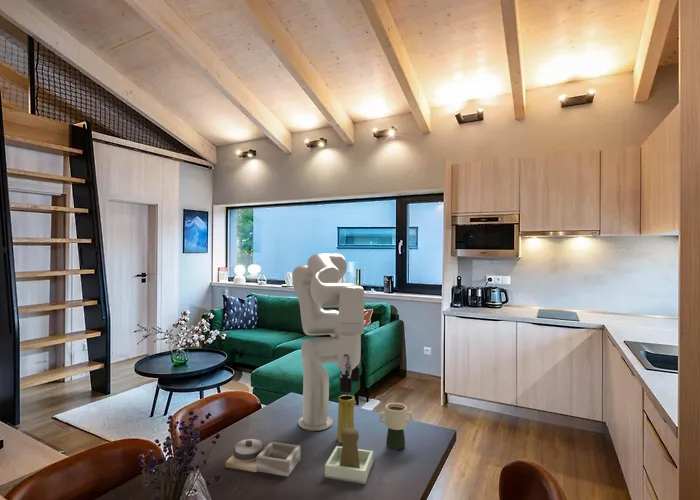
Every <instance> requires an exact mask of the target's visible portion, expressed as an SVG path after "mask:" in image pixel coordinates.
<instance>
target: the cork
mask: <svg viewBox="0 0 700 500" xmlns="http://www.w3.org/2000/svg"><path fill="white" fill-rule="evenodd" d="M359 435H360V434H359V431H358V430H357V429H356V428H355V427H354V428H346V429H344V430H343V431H342V433H341V439H342V441H343V443H342V446H341V447H342V452H341V459H340V466H344V467H351V468H357V469H360V464H359V456H358V449H359V448H358V440H359V439H360V438H359V437H360V436H359Z"/></svg>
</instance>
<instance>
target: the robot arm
mask: <svg viewBox="0 0 700 500" xmlns="http://www.w3.org/2000/svg"><path fill="white" fill-rule="evenodd" d="M347 268H348V263H347V260H346V258H345V257H344V255H342V254H341V253H322V252H320V253H319V252H318V253H315V254H312V255H310V257H308V259H307V264H302V265H298V266H296V267H294V269H293V270H292V275H291V276H292V277H291V279H292V280H291V281H292V282H291V283H292V286H293V287H292V288H293V290H294V292H295V294H296V297H297V300H298V303H299V309H300V310H299V311H300V318H301V319H300V320H301V327H302V330H303V333H304V335H306V336H320V337H312V338H308V339H306V340H304V341H303V342H302V344H301V348H300V352H301V361H302V374H303V376H302V377H303V379H302V416H301V417H300V418H299V419H298V427H300V428H301V429H303V430H306V431H312V432H313V431H314V432H317V431H324V430H326V429H328V428H330V427H331V426H332V425H333V423H334V421H333V419H332V417H331V416H329V409H330V407H329V404H330V403H329V401H330V400H329V399H330V397H329V396H330V395H329V394H330V377H329V373H328V371H327V369H325V368H324V366H323V365H326V364H335V363H336V365H337V368H338V369H340V372H339V373H340V377H339V378H340V379H339V381H340V382H339V384H340V385H339V391H340V392H342V393H352V389H353V387H352V386H353V384H352V383H353V382H359V381H360V362H361V354H362V352H361V351H362V350H361V349H362V348H361V347H362V346H361V345H362V340H361V339H362V334H364V333H365V332H364V331H365V330H364V329H365V328H364V327H365V325H364V324H365V290H364V289H365V288H363V286H361V285H358V284H355V283H353V282H339V281H340V280H341V279H342V278H343V277H344V276H345V275H346V272H347V271H348V270H347ZM325 308H326V309H325ZM327 308H338V310H337V309H327ZM324 335H325V336H326V337H325V336H324ZM327 335H330V336H327ZM321 336H324V337H321Z"/></svg>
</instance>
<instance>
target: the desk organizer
mask: <svg viewBox="0 0 700 500" xmlns="http://www.w3.org/2000/svg"><path fill="white" fill-rule="evenodd" d="M301 460H302V445H299V444H292V443H291V444H290V443H284V442H277V441H270V442H269V443H268V444H267V445H266V446H265V447H264V444H263V442H262V441H261V440H260V439H256V438H248V439H243V440H240V441H238V442H237V443H236V444H235V446H234V447H233V454H232V455H231V457H229V458H228V459H227V460H226V461H225V468H229V469H233V470H239V471H240V470H241V471H246V472H252V473H257V472H259V473H264V474H265V473H266V474H269V475H270V474H272V475H278V476H282V477H289V475H290V474H291V473H292V471H294V469H295V468H296V466H297V465H298V463H299V462H300V461H301Z"/></svg>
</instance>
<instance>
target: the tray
mask: <svg viewBox="0 0 700 500" xmlns="http://www.w3.org/2000/svg"><path fill="white" fill-rule="evenodd" d="M341 452H342V446H339V445H336V446H335V448H334V449H333V451H332V453H331V454H330V456H329V457H328V460H327V461H326V463H325V465H324V478H325V479H331V480H338V481H342V482H343V481H344V482H351V483H354V484H355V483H356V484H361V485H362V484H363V485H366V484H367V480H368V477H369V475H370V472H371V470H372V467H373V464H374V450H370V449H369V450H367V449H362V448H361V449H360V448H358V456H359V464H360V469H357V468H351V467H344V466H340V459H341Z"/></svg>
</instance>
